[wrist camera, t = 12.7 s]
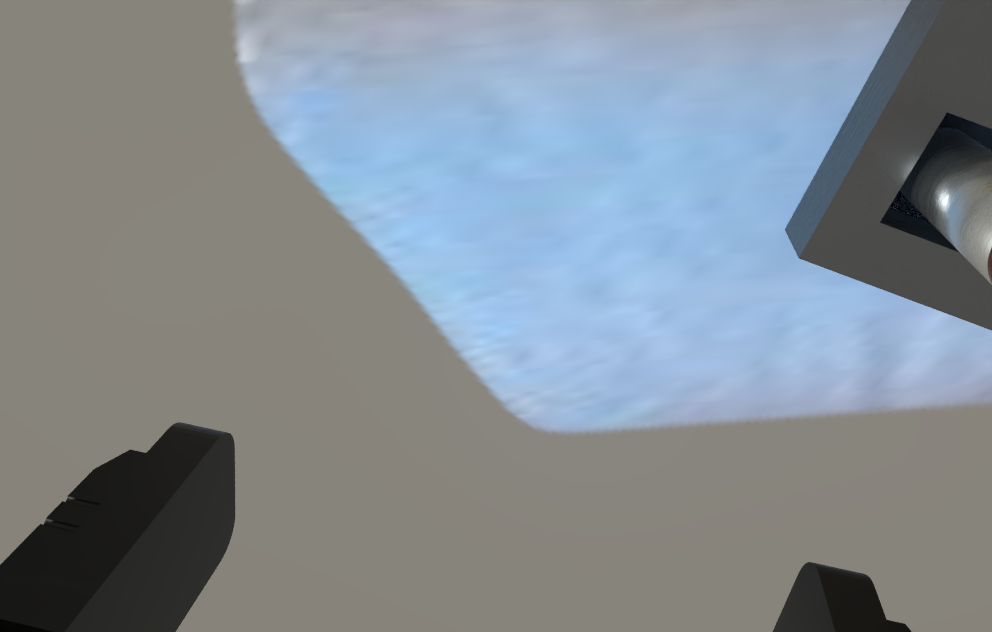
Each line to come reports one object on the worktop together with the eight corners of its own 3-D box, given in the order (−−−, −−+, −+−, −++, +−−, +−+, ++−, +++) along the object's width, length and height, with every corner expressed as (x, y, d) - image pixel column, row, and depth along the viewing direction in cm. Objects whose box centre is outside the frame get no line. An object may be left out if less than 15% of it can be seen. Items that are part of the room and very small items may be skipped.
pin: (921, 115, 34) (1052, 205, 23) (995, 143, 34) (1160, 246, 23) (878, 187, 36) (983, 302, 25) (949, 214, 36) (1083, 340, 25)
